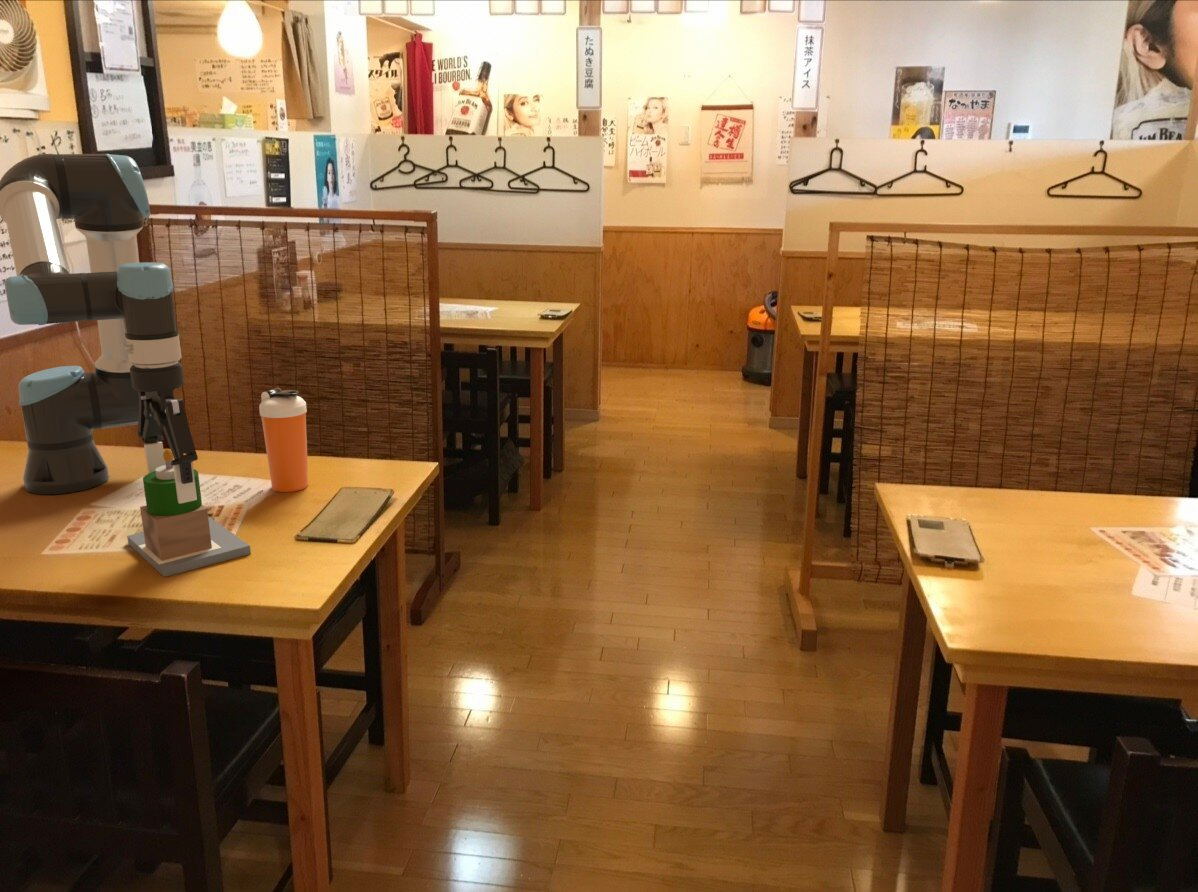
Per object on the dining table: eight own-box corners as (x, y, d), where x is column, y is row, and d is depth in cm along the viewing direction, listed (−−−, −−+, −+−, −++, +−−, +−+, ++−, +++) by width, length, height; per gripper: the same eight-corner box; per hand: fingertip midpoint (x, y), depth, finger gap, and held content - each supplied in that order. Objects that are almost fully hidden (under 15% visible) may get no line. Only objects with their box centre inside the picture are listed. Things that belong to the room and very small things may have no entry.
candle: (212, 504, 155) (205, 447, 152) (166, 519, 148) (158, 459, 145) (182, 495, 159) (175, 439, 156) (136, 509, 153) (128, 450, 150)
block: (145, 546, 156) (139, 506, 154) (194, 534, 161) (189, 496, 159) (161, 560, 150) (156, 520, 148) (211, 547, 155) (207, 508, 153)
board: (128, 543, 161) (126, 535, 160) (210, 524, 170) (209, 515, 169) (164, 577, 148) (163, 567, 148) (250, 553, 157) (249, 544, 157)
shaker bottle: (299, 495, 185) (290, 397, 179) (258, 492, 186) (248, 394, 181) (321, 481, 193) (313, 387, 187) (281, 478, 195) (272, 384, 189)
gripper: (105, 354, 153) (123, 476, 159) (157, 379, 135) (175, 516, 142) (153, 348, 158) (169, 467, 164) (210, 372, 140) (225, 505, 146)
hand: (172, 490), depth 153 cm, fingers open, 13 cm apart
